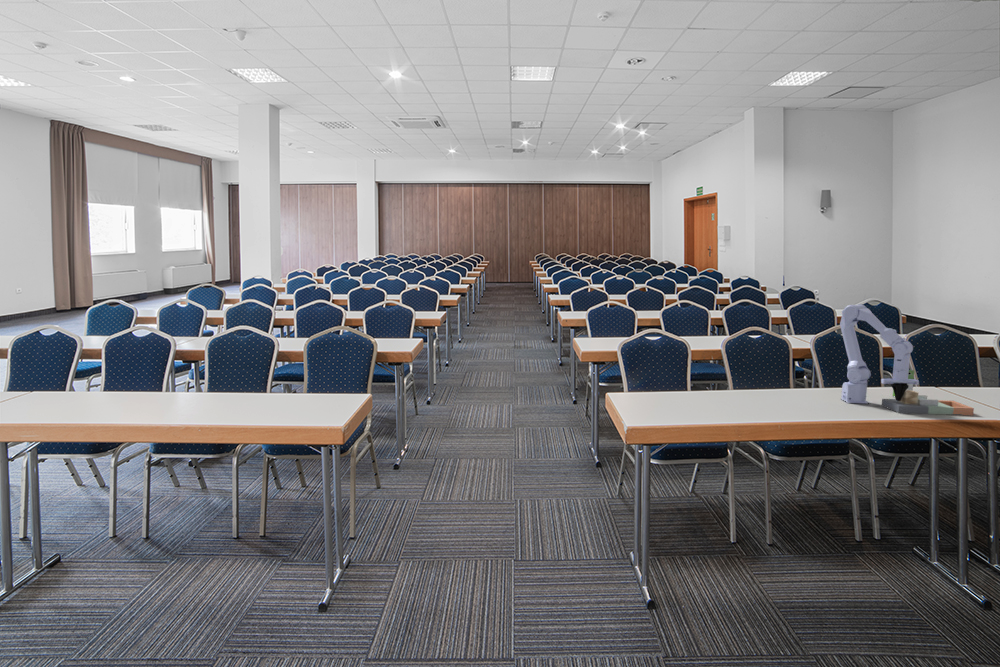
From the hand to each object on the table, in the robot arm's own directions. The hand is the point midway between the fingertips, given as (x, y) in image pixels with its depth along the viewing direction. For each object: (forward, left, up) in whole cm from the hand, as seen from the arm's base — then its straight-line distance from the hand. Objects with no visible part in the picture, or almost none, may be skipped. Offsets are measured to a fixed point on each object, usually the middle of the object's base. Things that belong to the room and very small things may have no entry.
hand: (898, 400), depth 280 cm
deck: (+12, 0, -4) cm, 12 cm away
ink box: (+15, +25, -4) cm, 29 cm away
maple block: (+4, 0, -1) cm, 4 cm away
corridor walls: (+10, 0, -1) cm, 10 cm away
